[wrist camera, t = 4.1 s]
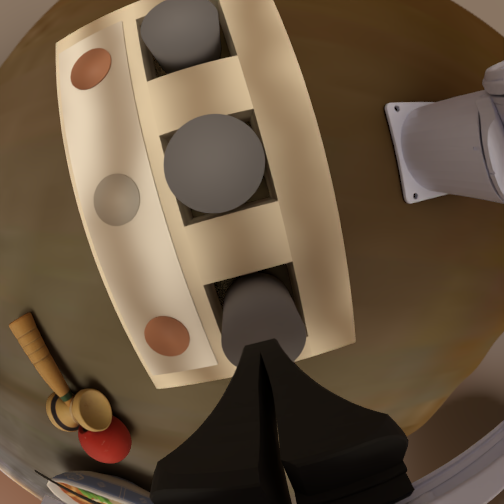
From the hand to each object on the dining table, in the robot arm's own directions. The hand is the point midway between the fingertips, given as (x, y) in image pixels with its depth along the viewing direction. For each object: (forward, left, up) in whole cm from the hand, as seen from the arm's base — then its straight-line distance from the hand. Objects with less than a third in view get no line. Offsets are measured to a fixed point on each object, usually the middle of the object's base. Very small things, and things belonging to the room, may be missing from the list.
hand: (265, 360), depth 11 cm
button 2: (0, -8, -7) cm, 11 cm away
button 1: (0, -17, -9) cm, 19 cm away
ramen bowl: (+30, +30, -10) cm, 44 cm away
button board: (+1, -8, -9) cm, 12 cm away
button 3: (0, +1, -7) cm, 7 cm away
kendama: (+21, +7, -10) cm, 24 cm away
